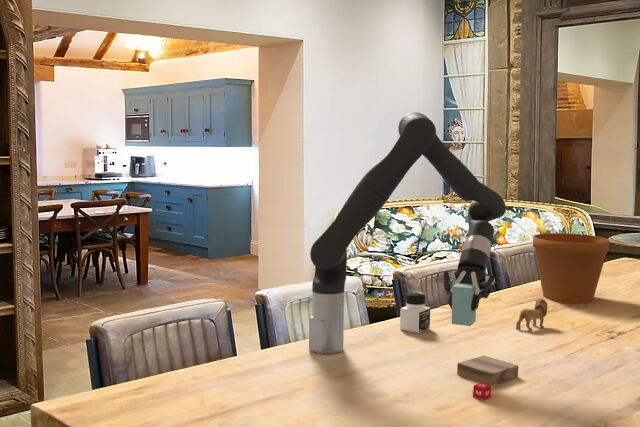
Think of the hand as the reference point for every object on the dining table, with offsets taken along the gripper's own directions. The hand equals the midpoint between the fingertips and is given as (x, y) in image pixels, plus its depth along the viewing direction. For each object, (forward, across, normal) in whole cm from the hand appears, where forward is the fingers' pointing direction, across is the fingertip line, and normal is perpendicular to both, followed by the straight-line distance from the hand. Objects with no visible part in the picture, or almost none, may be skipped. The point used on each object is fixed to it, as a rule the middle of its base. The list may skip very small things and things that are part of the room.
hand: (462, 308), depth 190 cm
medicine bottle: (-13, +25, -38) cm, 47 cm away
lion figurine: (-27, -7, -54) cm, 60 cm away
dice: (+23, -10, -2) cm, 25 cm away
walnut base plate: (+11, -7, -13) cm, 19 cm away
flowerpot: (-64, -11, -92) cm, 113 cm away
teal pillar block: (+2, 0, -4) cm, 5 cm away
